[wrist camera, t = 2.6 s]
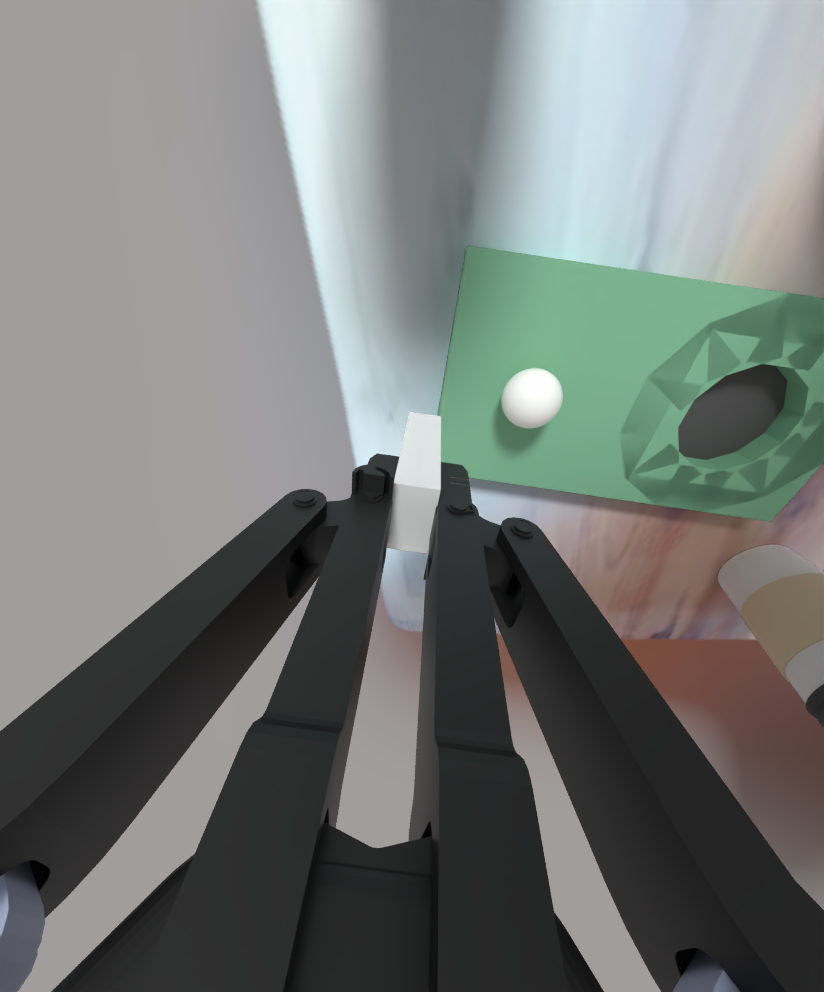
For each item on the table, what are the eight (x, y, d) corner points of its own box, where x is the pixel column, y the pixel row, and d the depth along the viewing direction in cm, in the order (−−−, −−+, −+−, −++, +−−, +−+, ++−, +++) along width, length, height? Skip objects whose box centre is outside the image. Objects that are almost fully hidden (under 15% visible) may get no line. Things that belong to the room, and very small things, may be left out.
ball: (506, 357, 24) (515, 372, 21) (562, 366, 25) (580, 382, 21) (492, 412, 27) (498, 433, 23) (543, 419, 27) (557, 441, 23)
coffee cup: (685, 585, 38) (803, 742, 25) (757, 524, 33) (949, 683, 20) (754, 607, 39) (900, 769, 26) (834, 552, 34) (1060, 719, 21)
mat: (466, 247, 23) (468, 245, 21) (916, 313, 23) (953, 317, 21) (429, 460, 32) (428, 471, 30) (753, 508, 32) (770, 521, 30)
